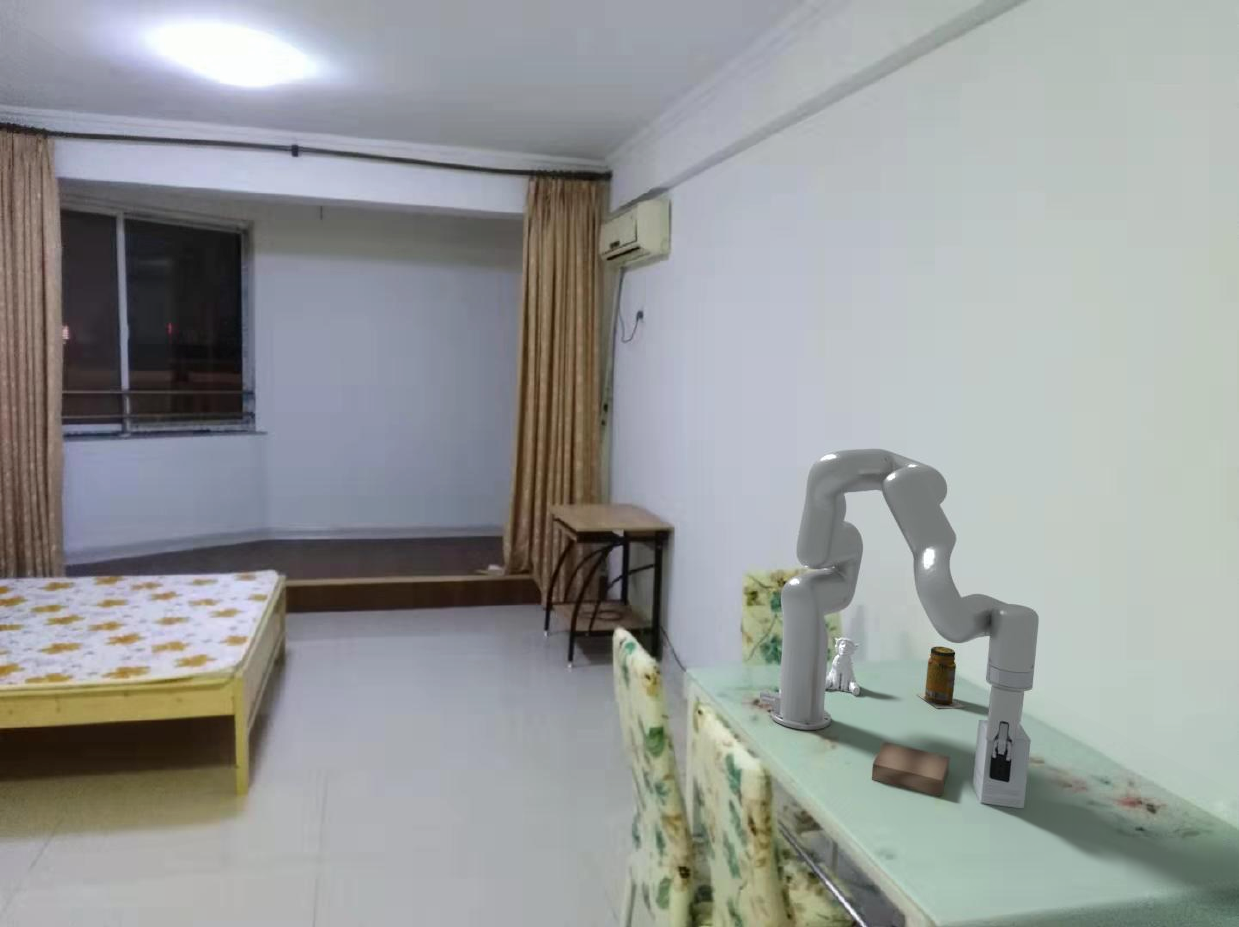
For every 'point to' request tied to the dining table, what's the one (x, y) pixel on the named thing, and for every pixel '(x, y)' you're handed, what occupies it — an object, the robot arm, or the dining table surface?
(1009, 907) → the dining table surface
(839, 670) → the sitting furry creature
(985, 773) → the supplement box
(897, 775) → the walnut base
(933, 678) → the condiment
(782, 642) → the robot arm
